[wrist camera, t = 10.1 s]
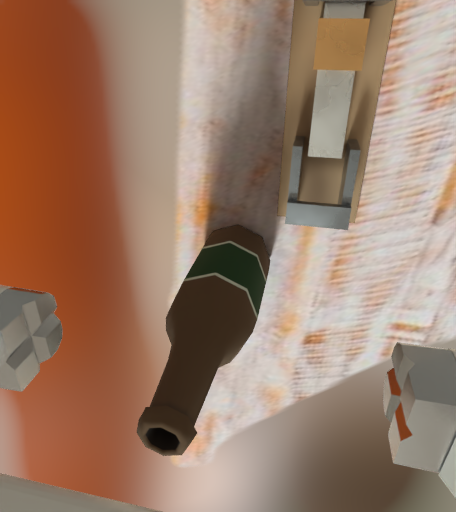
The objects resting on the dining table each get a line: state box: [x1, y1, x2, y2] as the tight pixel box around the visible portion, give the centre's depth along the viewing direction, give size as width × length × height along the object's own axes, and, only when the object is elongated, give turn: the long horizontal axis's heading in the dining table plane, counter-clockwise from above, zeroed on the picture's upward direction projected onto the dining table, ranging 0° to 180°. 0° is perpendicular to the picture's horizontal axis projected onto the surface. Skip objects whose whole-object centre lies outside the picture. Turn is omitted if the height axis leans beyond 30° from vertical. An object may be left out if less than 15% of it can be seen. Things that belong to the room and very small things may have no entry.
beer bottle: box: [137, 225, 270, 456], centre depth 34 cm, size 8×8×24 cm
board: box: [277, 0, 396, 223], centre depth 34 cm, size 8×23×1 cm, turn 0°
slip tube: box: [308, 1, 370, 159], centre depth 30 cm, size 3×14×5 cm, turn 0°
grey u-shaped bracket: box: [285, 136, 361, 230], centre depth 35 cm, size 5×7×5 cm
